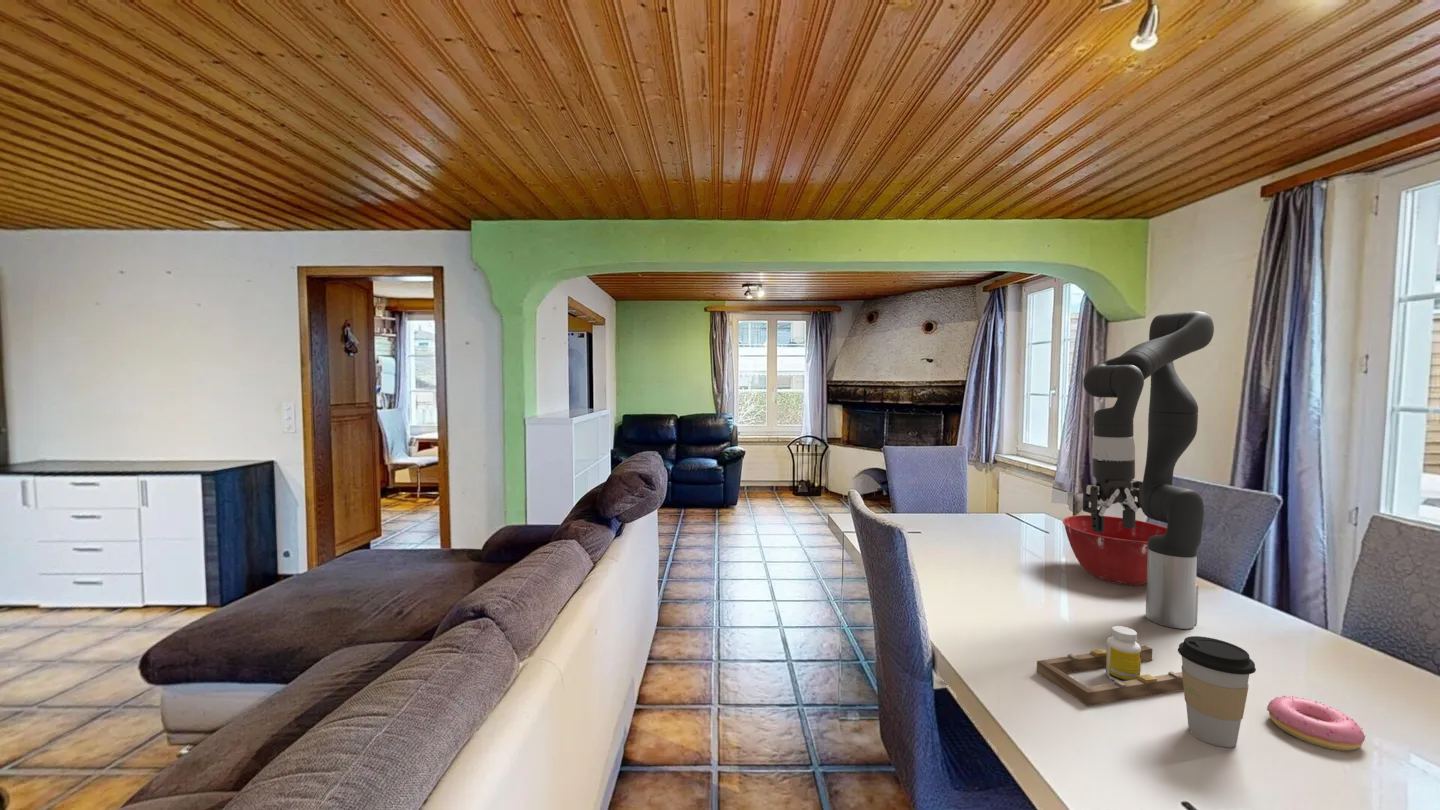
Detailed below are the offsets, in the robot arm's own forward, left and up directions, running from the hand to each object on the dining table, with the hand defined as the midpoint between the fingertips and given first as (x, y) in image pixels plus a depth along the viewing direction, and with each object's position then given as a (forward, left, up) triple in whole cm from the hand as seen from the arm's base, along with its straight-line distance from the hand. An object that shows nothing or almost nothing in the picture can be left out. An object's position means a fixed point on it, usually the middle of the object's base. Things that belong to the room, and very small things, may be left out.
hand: (1113, 529), depth 118 cm
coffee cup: (+12, +28, -26) cm, 40 cm away
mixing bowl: (-42, -34, -26) cm, 60 cm away
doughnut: (-6, +31, -27) cm, 42 cm away
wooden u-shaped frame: (+10, +11, -26) cm, 30 cm away
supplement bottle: (+10, +11, -26) cm, 30 cm away
